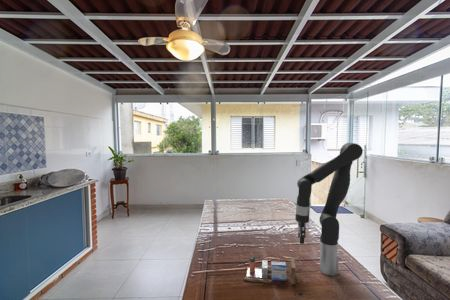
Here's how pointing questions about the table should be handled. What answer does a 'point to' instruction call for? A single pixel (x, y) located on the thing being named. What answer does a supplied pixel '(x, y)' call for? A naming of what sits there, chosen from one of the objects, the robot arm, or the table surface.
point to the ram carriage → (257, 272)
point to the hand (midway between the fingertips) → (300, 240)
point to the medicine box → (278, 271)
